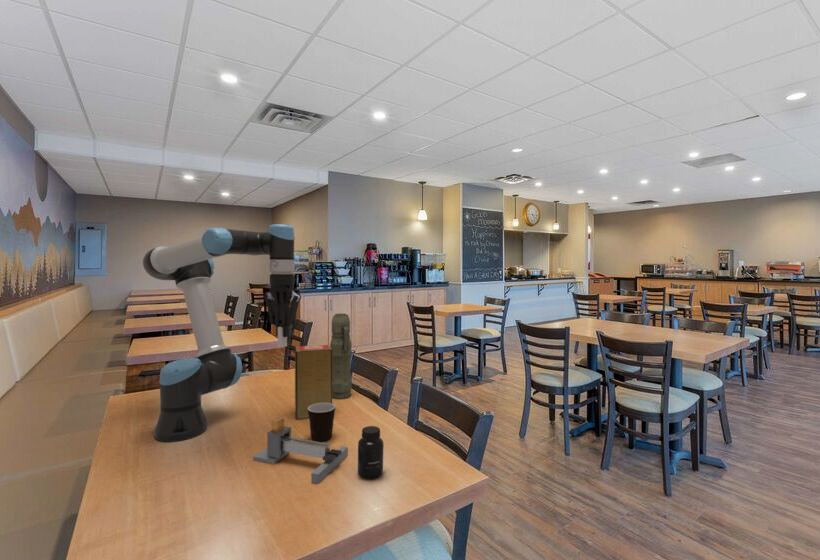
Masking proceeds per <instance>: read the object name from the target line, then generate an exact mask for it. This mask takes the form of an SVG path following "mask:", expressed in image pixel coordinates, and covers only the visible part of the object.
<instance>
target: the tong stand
mask: <svg viewBox="0 0 820 560" xmlns="http://www.w3.org/2000/svg"><path fill="white" fill-rule="evenodd" d="M348 448H349V447H348V446H343V445H341V446H340V447H339V448H338V449H337V450H340V451H342V454H341V455H340V456H338V457H336V459H335V460H334V461H333V462H330V461H324V460H323V462H321V464H320V465H319V466H317V468H315V469H314V470H313V471H312V472H311V474H310V475H311V479H310V480H311V483H312V484H317V485H318V484H320V482H322V481H324V479H325V478H326V477H327V476H328V475H329V474H330V473H332V471H333V470H334V469H335V468H336V467H338V466H339V464H340V463H342V462H343V460H344V459H346V457H348V456H349V451H348V450H349V449H348ZM289 454H290V452H285V451H281V458H280V459H277V458H272V457H267V447H266V448H264V449H263V450H261V451H260V452H258V453H256V454H254V455H253V457H252V459H253V461H255V462H256V461H257V462H260V463H261V462H262V463H267V464H271V465H274V464H277V463H278V462H279V461H280V460H281V459H283V458H285V456H287V455H289Z"/></svg>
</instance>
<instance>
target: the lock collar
mask: <svg viewBox="0 0 820 560" xmlns="http://www.w3.org/2000/svg"><path fill="white" fill-rule="evenodd" d="M270 423H271V425H270V426H271V430H270V431H268V432H266V435H267V437H266V442H267V444H266V448H267V457H272V458H277V459H280V458H281V436H282V435H283V436H289V437H292V426H285V417H279V416H277V417H276V418H273V419H272V420H271V422H270ZM280 460H281V459H280Z"/></svg>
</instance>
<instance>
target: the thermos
mask: <svg viewBox="0 0 820 560" xmlns="http://www.w3.org/2000/svg"><path fill="white" fill-rule="evenodd" d="M350 332H351V320H350V316H349V315H348V314H347V313H335V314H334V315H333V316H332V319H331V333H332V334H331V340H330V343H329V346H330V347H331V348H332V400H345V399H349V398H351V397H350V396H352V378H351V356H352V340H351V335H350Z"/></svg>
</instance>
